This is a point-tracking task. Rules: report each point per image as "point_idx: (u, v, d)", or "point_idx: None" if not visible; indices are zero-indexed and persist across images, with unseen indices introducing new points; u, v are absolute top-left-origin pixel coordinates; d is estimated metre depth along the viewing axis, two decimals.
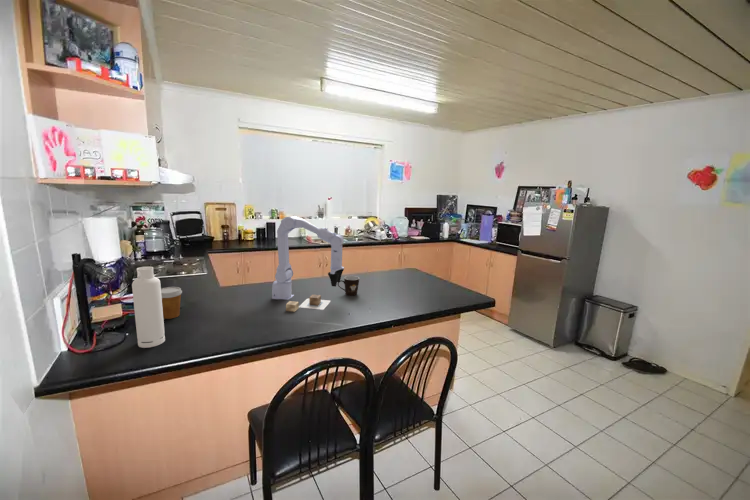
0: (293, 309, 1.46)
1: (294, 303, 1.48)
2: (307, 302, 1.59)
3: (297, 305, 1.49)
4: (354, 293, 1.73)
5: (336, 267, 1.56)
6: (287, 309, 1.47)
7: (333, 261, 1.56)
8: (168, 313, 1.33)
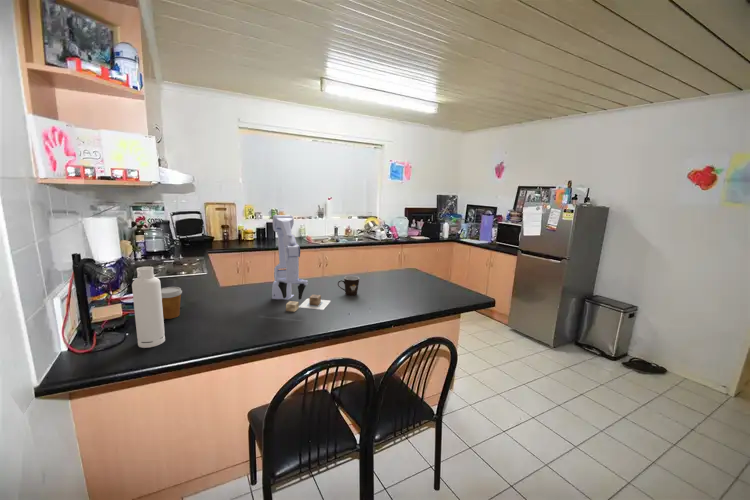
0: (293, 309, 1.46)
1: (294, 303, 1.48)
2: (307, 302, 1.59)
3: (297, 305, 1.49)
4: (354, 293, 1.73)
5: (286, 278, 1.46)
6: (287, 309, 1.47)
7: None
8: (168, 313, 1.33)
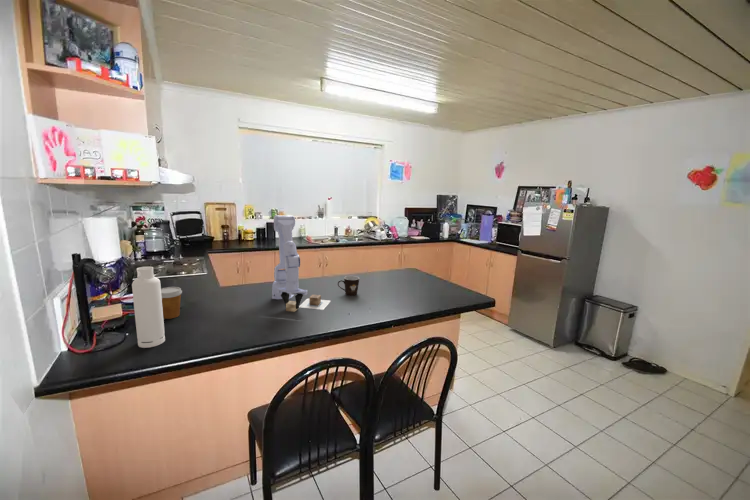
0: (293, 309, 1.46)
1: (294, 303, 1.48)
2: (307, 302, 1.59)
3: None
4: (354, 293, 1.73)
5: (286, 288, 1.46)
6: (287, 309, 1.47)
7: None
8: (168, 313, 1.33)
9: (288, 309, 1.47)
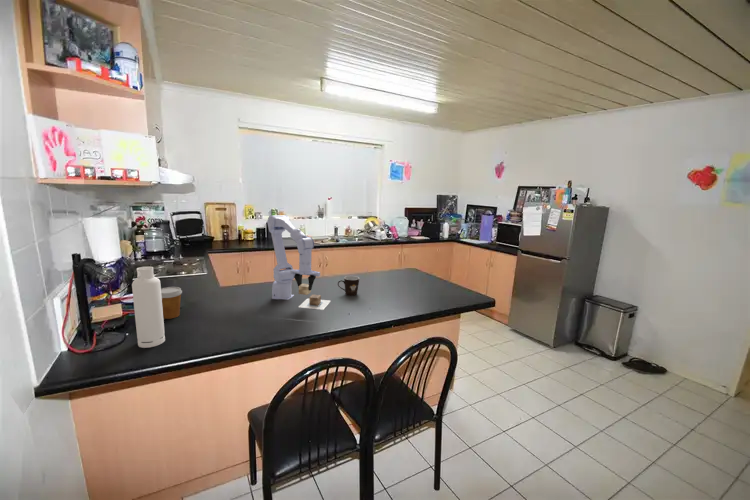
0: (305, 291, 1.49)
1: (307, 285, 1.51)
2: (307, 302, 1.59)
3: None
4: (354, 293, 1.73)
5: (299, 270, 1.50)
6: (300, 291, 1.50)
7: None
8: (168, 313, 1.33)
9: (301, 291, 1.50)
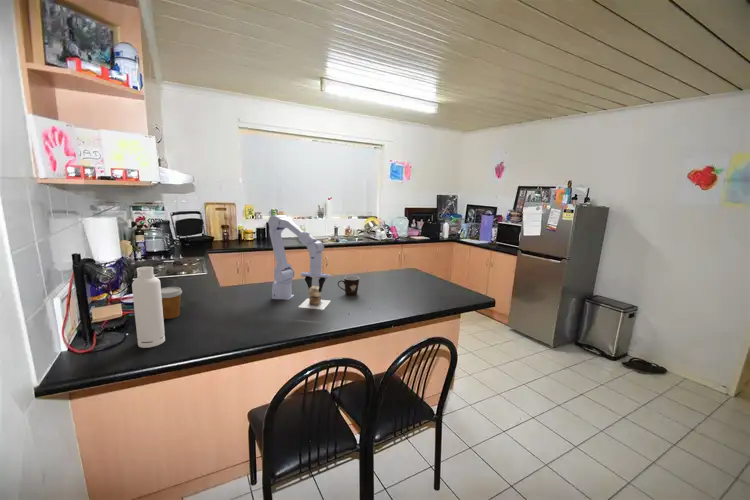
0: (316, 293, 1.54)
1: (317, 287, 1.55)
2: (307, 302, 1.59)
3: None
4: (354, 293, 1.73)
5: (309, 273, 1.54)
6: (310, 293, 1.54)
7: None
8: (168, 313, 1.33)
9: (311, 293, 1.54)
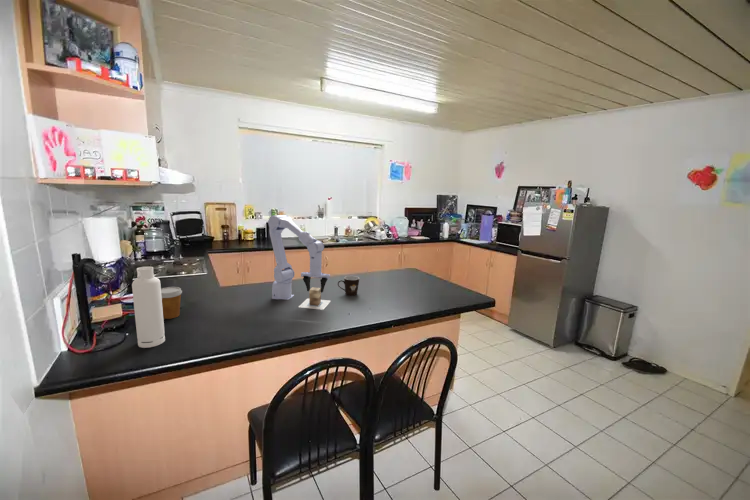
0: (316, 294, 1.54)
1: (317, 289, 1.55)
2: (307, 302, 1.59)
3: (319, 291, 1.57)
4: (354, 293, 1.73)
5: (309, 273, 1.54)
6: (310, 294, 1.54)
7: None
8: (168, 313, 1.33)
9: (311, 295, 1.54)
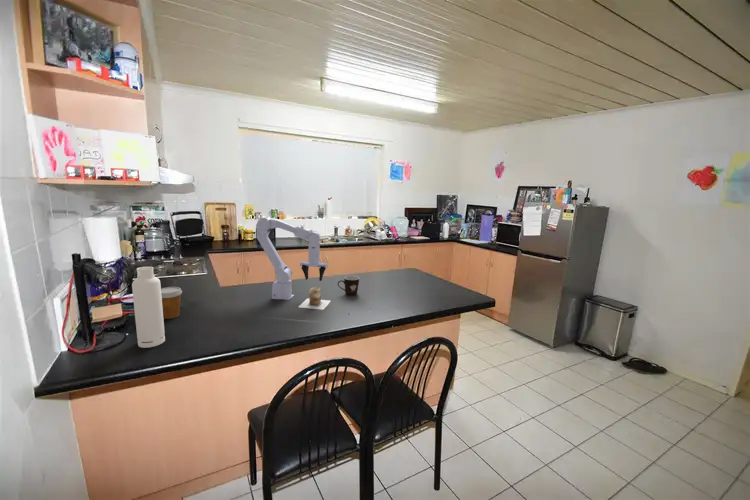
0: (316, 294, 1.54)
1: (317, 289, 1.55)
2: (307, 302, 1.59)
3: (319, 291, 1.57)
4: (354, 293, 1.73)
5: (308, 262, 1.63)
6: (310, 294, 1.54)
7: None
8: (168, 313, 1.33)
9: (311, 295, 1.54)
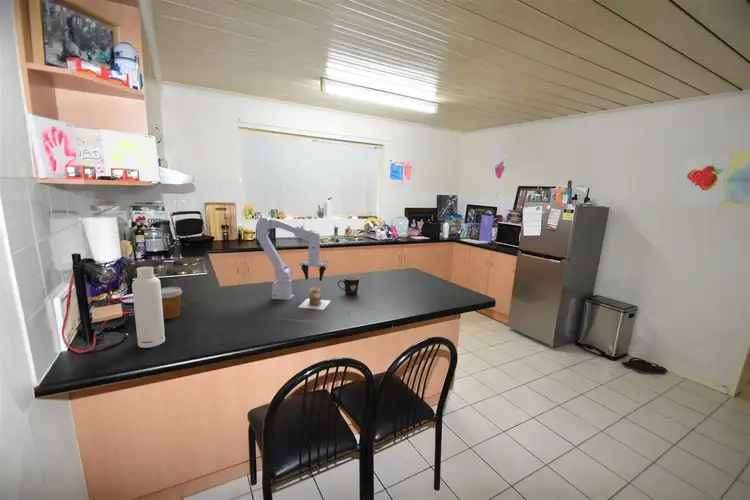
0: (316, 294, 1.54)
1: (317, 289, 1.55)
2: (307, 302, 1.59)
3: (319, 291, 1.57)
4: (354, 293, 1.73)
5: (308, 262, 1.63)
6: (310, 294, 1.54)
7: None
8: (168, 313, 1.33)
9: (311, 295, 1.54)
